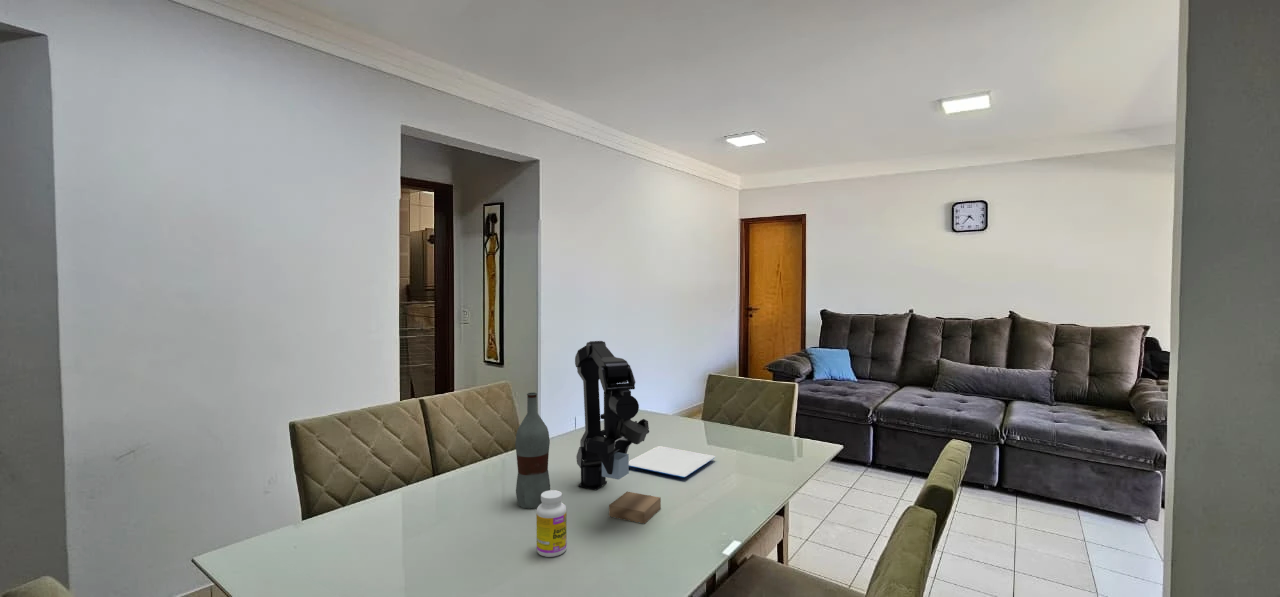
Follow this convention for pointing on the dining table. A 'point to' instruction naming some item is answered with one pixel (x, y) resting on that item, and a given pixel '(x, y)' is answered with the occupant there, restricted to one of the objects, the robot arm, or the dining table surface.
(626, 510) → the base
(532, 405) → the grey bottle
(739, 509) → the dining table surface
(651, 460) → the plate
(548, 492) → the supplement bottle
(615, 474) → the cube
